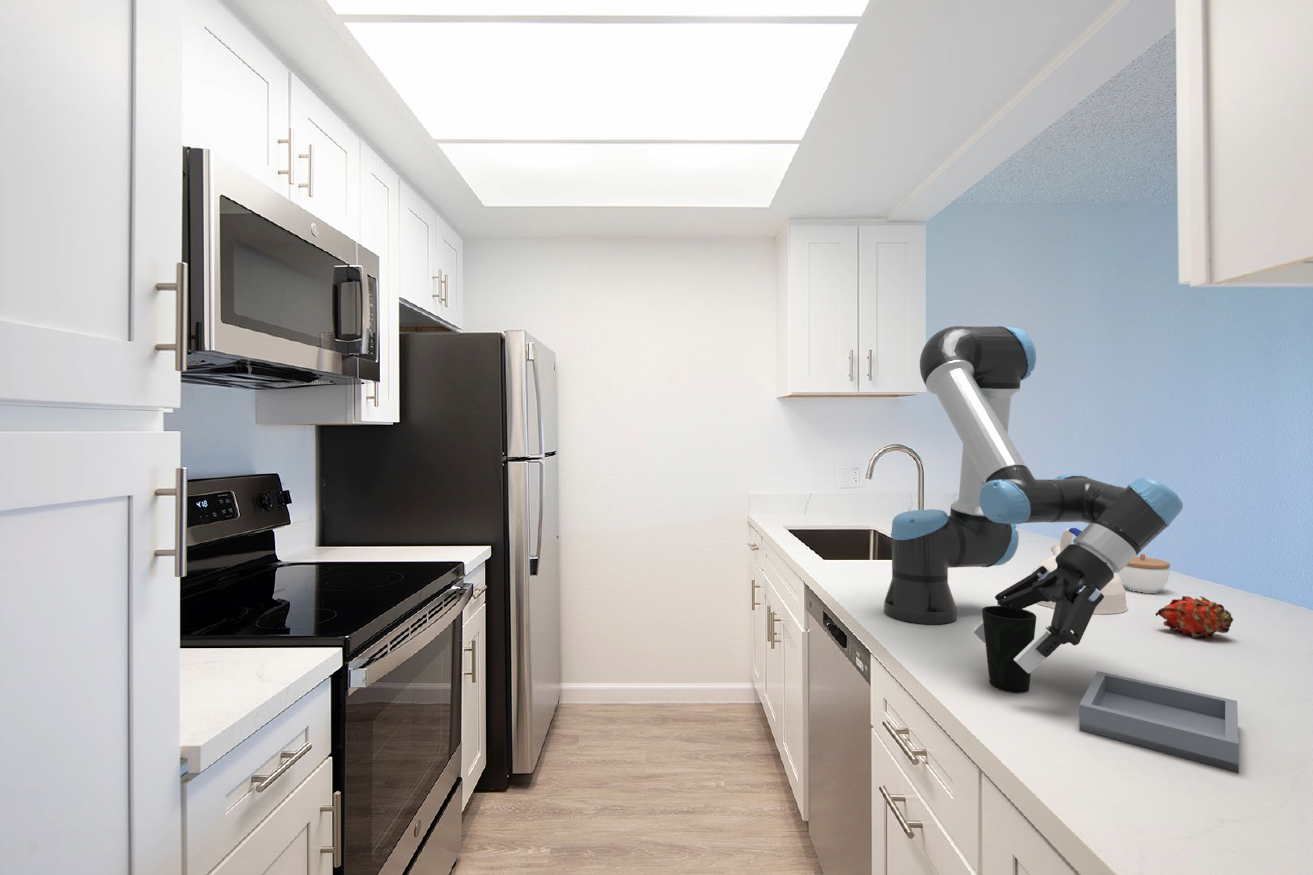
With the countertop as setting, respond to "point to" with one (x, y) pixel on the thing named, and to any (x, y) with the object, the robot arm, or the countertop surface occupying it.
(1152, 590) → the lidded jar
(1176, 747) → the box
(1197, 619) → the dragon fruit
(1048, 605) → the kettle
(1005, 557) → the robot arm
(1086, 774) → the countertop surface
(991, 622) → the cup
